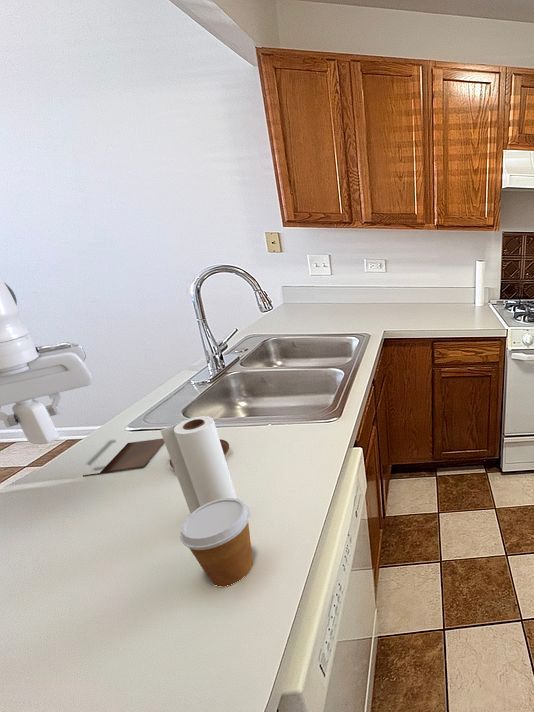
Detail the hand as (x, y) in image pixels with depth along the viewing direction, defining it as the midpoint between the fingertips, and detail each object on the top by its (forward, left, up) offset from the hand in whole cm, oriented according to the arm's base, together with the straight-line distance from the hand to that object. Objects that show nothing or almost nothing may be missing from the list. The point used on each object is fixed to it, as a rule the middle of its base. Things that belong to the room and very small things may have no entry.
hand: (34, 419), depth 77 cm
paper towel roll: (+32, -14, -19) cm, 40 cm away
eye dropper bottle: (0, 0, -5) cm, 5 cm away
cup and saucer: (+22, +7, -19) cm, 30 cm away
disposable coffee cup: (+38, -29, -19) cm, 52 cm away
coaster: (+4, +13, -19) cm, 23 cm away
